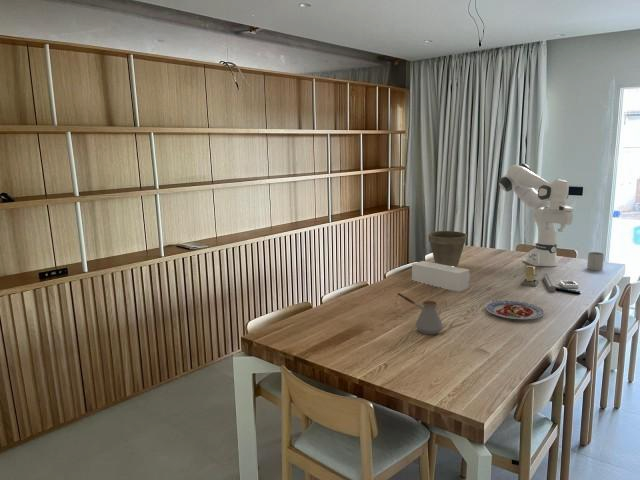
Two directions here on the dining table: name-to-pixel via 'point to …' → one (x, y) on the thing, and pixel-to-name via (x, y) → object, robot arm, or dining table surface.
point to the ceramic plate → (515, 310)
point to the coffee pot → (427, 317)
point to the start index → (568, 284)
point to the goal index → (529, 282)
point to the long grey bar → (549, 283)
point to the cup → (595, 261)
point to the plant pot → (447, 246)
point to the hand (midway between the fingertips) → (553, 230)
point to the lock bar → (530, 273)
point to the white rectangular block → (441, 275)
